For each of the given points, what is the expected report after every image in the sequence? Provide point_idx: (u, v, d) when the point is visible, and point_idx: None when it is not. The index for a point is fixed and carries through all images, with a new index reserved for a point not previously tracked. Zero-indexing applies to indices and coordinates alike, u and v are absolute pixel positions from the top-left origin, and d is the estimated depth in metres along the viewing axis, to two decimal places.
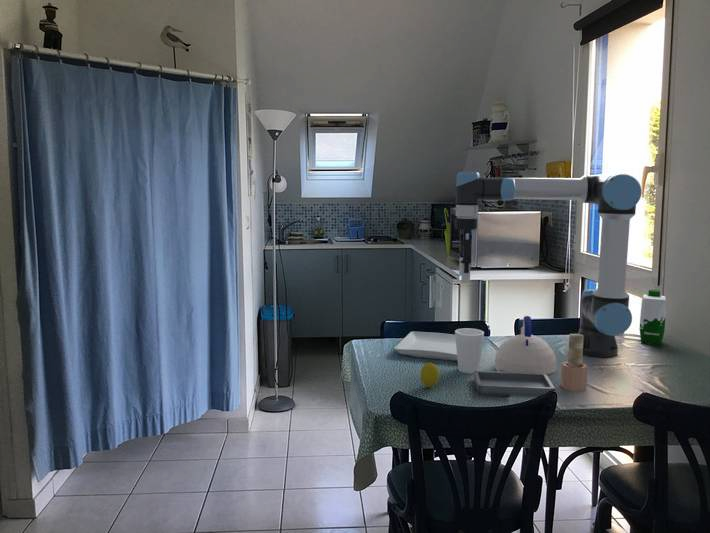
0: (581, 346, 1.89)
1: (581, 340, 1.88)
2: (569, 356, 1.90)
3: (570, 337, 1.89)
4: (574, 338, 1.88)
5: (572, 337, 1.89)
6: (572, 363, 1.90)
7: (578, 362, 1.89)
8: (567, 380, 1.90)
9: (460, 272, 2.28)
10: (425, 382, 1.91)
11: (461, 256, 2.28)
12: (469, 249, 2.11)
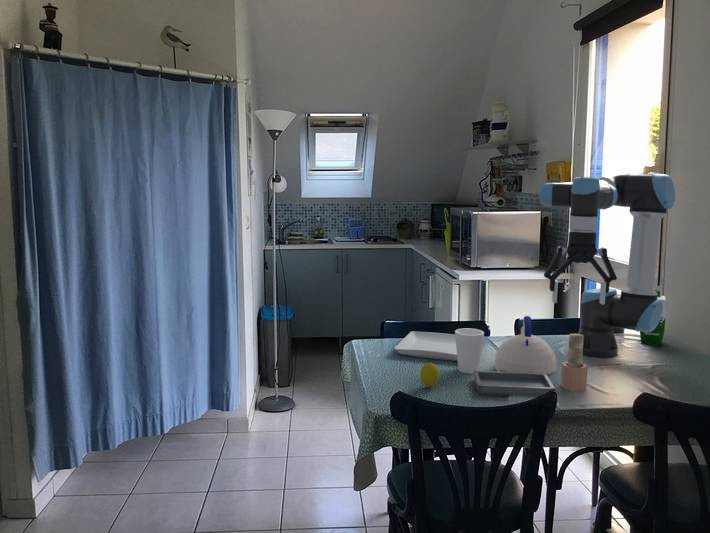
0: (581, 346, 1.89)
1: (581, 340, 1.88)
2: (569, 356, 1.90)
3: (570, 337, 1.89)
4: (574, 338, 1.88)
5: (572, 337, 1.89)
6: (572, 363, 1.90)
7: (578, 362, 1.89)
8: (567, 380, 1.90)
9: (600, 298, 1.88)
10: (425, 382, 1.91)
11: (604, 280, 1.87)
12: (551, 264, 1.87)
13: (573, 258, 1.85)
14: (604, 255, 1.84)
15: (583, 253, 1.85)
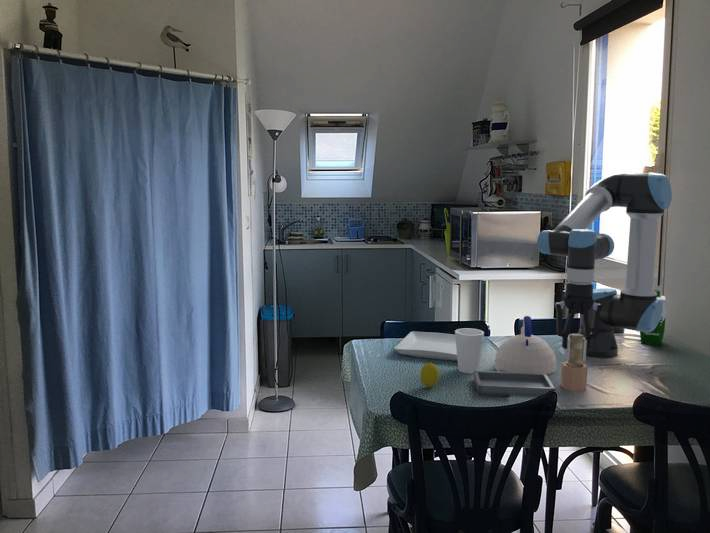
0: (581, 346, 1.89)
1: (581, 340, 1.88)
2: None
3: (570, 337, 1.89)
4: (574, 338, 1.88)
5: (572, 337, 1.89)
6: (572, 363, 1.90)
7: (578, 362, 1.89)
8: (567, 380, 1.90)
9: None
10: (425, 382, 1.91)
11: None
12: (557, 322, 1.89)
13: (573, 311, 1.87)
14: (597, 311, 1.87)
15: (580, 303, 1.87)
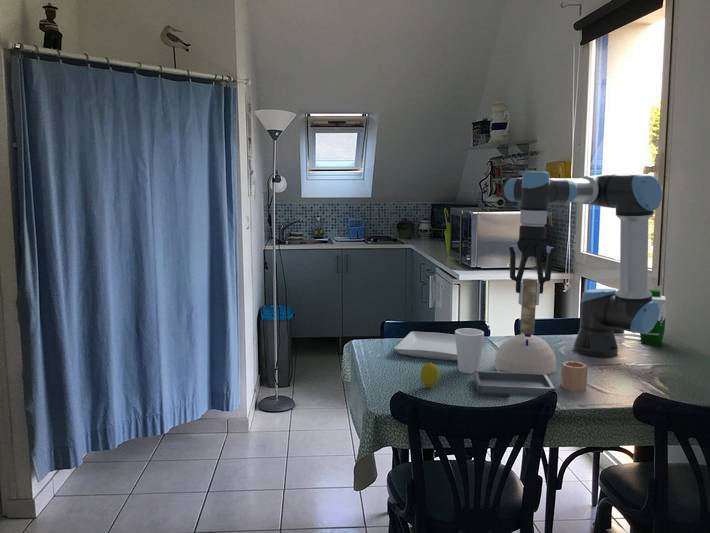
0: (534, 290, 1.86)
1: (534, 284, 1.86)
2: (523, 300, 1.88)
3: (523, 281, 1.87)
4: (527, 281, 1.86)
5: (525, 281, 1.86)
6: (525, 307, 1.87)
7: (531, 306, 1.87)
8: (567, 380, 1.90)
9: None
10: (425, 382, 1.91)
11: (539, 281, 1.88)
12: (510, 266, 1.87)
13: (526, 254, 1.85)
14: (550, 254, 1.85)
15: (534, 245, 1.85)
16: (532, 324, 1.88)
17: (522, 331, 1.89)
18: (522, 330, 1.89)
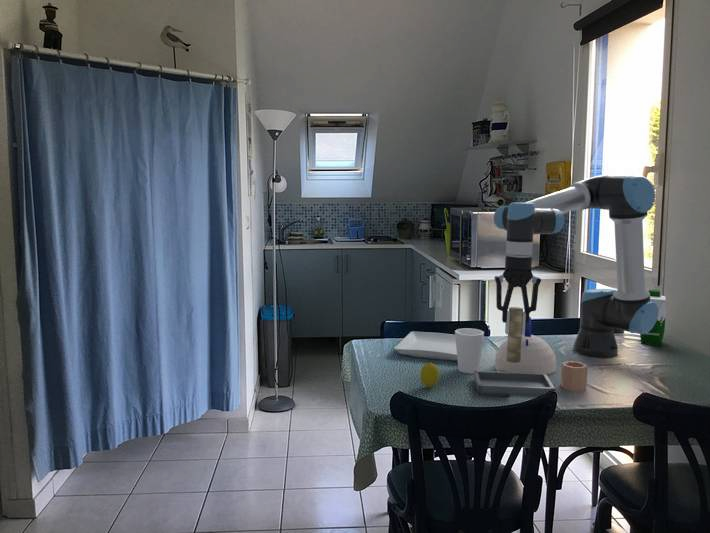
0: (520, 319, 1.88)
1: (520, 313, 1.88)
2: (509, 329, 1.90)
3: (509, 310, 1.89)
4: (513, 311, 1.88)
5: (511, 310, 1.88)
6: (511, 336, 1.89)
7: (517, 335, 1.88)
8: (567, 380, 1.90)
9: None
10: (425, 382, 1.91)
11: (525, 310, 1.90)
12: (497, 296, 1.89)
13: (512, 284, 1.87)
14: (536, 284, 1.87)
15: (519, 276, 1.87)
16: (518, 353, 1.89)
17: (509, 360, 1.90)
18: (508, 358, 1.90)
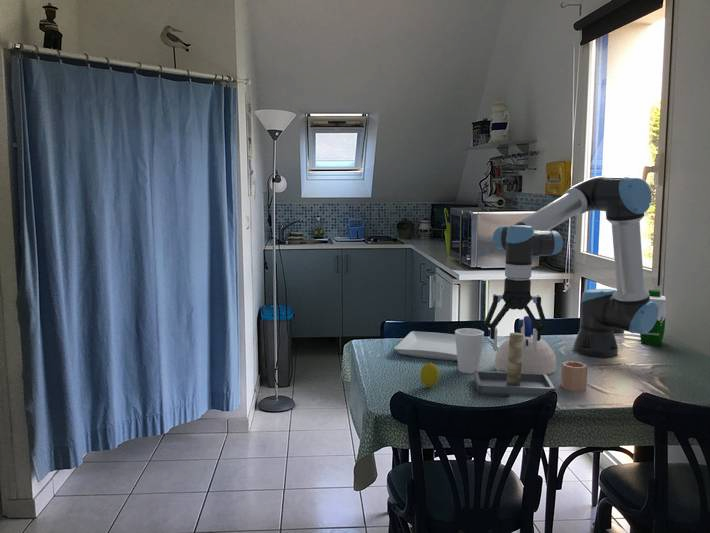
0: (521, 345, 1.89)
1: (521, 339, 1.89)
2: (509, 355, 1.91)
3: (510, 336, 1.90)
4: (514, 337, 1.89)
5: (512, 336, 1.89)
6: (511, 362, 1.90)
7: (517, 361, 1.90)
8: (567, 380, 1.90)
9: (532, 346, 1.92)
10: (425, 382, 1.91)
11: None
12: (489, 313, 1.90)
13: (509, 305, 1.88)
14: (538, 303, 1.87)
15: (518, 299, 1.88)
16: (518, 378, 1.91)
17: (508, 385, 1.92)
18: (508, 384, 1.92)
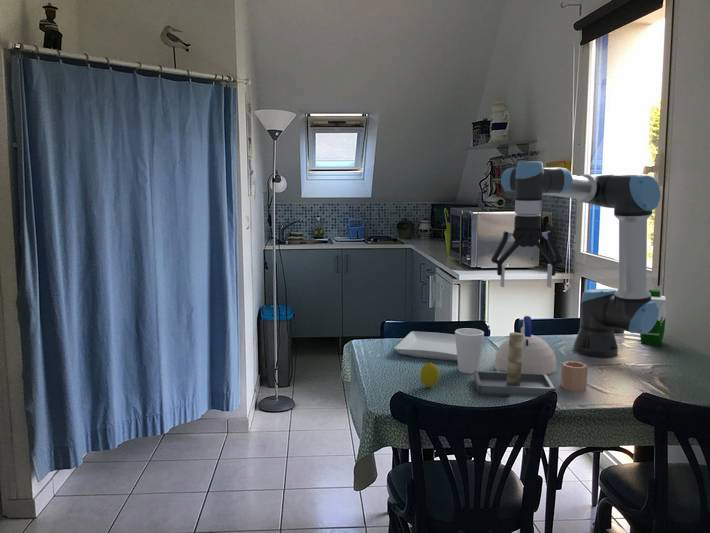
0: (521, 345, 1.89)
1: (521, 339, 1.89)
2: (509, 355, 1.91)
3: (510, 336, 1.90)
4: (514, 337, 1.89)
5: (512, 336, 1.89)
6: (511, 362, 1.90)
7: (517, 361, 1.90)
8: (567, 380, 1.90)
9: (547, 281, 1.90)
10: (425, 382, 1.91)
11: (551, 263, 1.89)
12: (497, 249, 1.88)
13: (519, 242, 1.86)
14: (549, 238, 1.86)
15: (529, 237, 1.86)
16: (518, 378, 1.91)
17: (508, 385, 1.92)
18: (508, 384, 1.92)
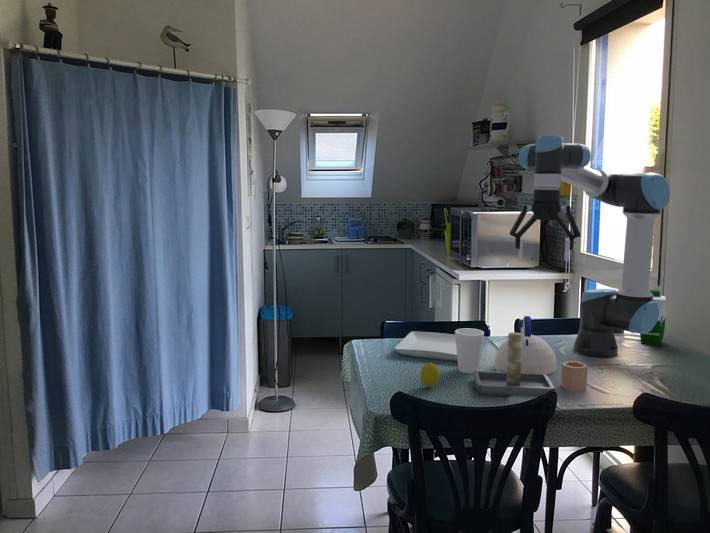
0: (520, 345, 1.89)
1: (519, 339, 1.89)
2: (508, 355, 1.91)
3: (509, 336, 1.90)
4: (512, 337, 1.89)
5: (511, 336, 1.89)
6: (511, 362, 1.90)
7: (517, 361, 1.90)
8: (567, 380, 1.90)
9: (564, 256, 1.92)
10: (425, 382, 1.91)
11: (569, 237, 1.90)
12: (516, 222, 1.90)
13: (537, 215, 1.88)
14: (568, 212, 1.88)
15: (547, 211, 1.88)
16: (518, 378, 1.91)
17: (508, 385, 1.92)
18: (508, 384, 1.92)
